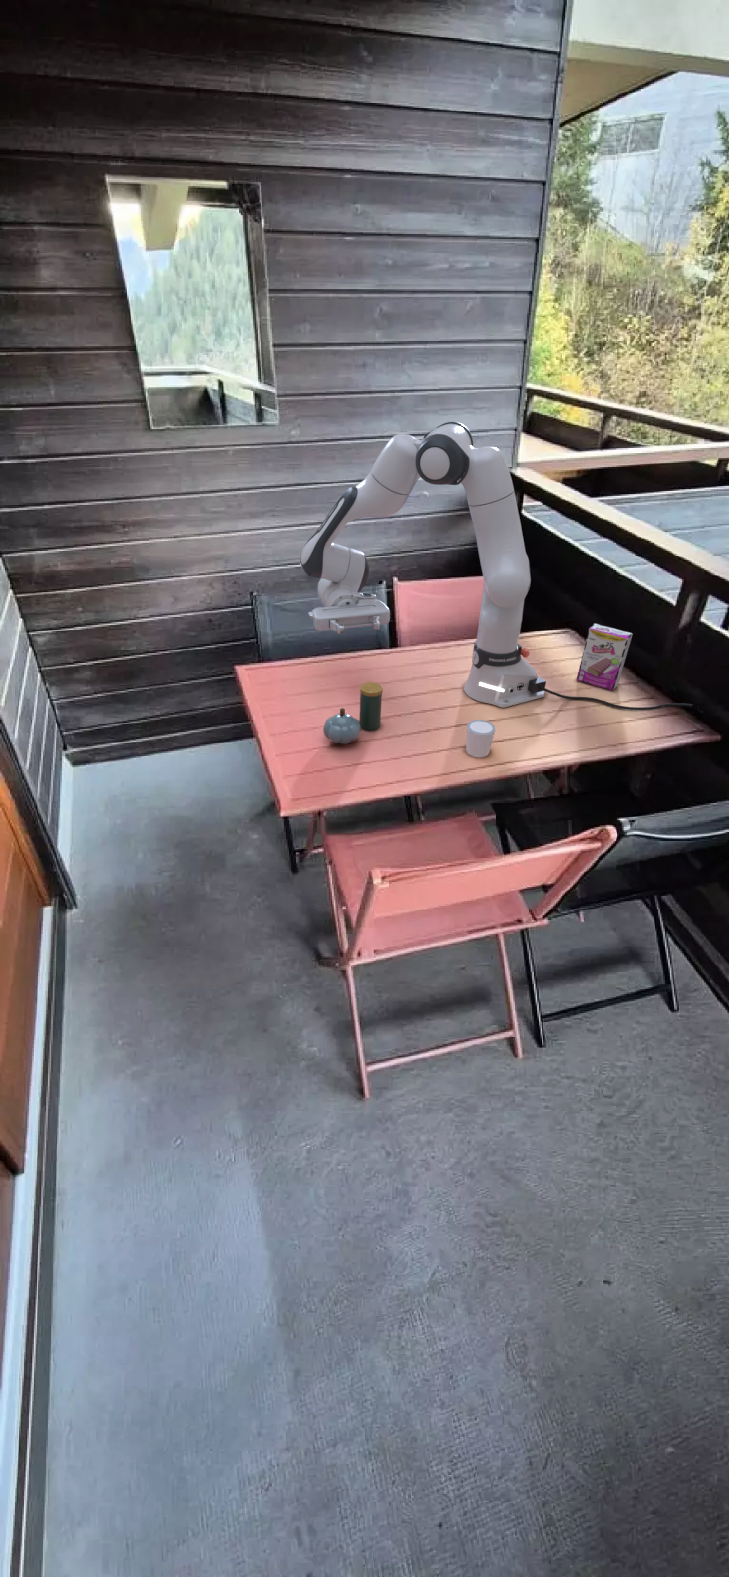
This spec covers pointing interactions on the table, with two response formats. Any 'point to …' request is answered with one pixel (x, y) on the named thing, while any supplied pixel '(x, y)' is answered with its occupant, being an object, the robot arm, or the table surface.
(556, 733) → the table surface
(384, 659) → the table surface
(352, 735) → the pumpkin
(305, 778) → the table surface
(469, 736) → the white cup
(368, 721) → the tea tin
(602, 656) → the candy bar box
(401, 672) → the table surface
